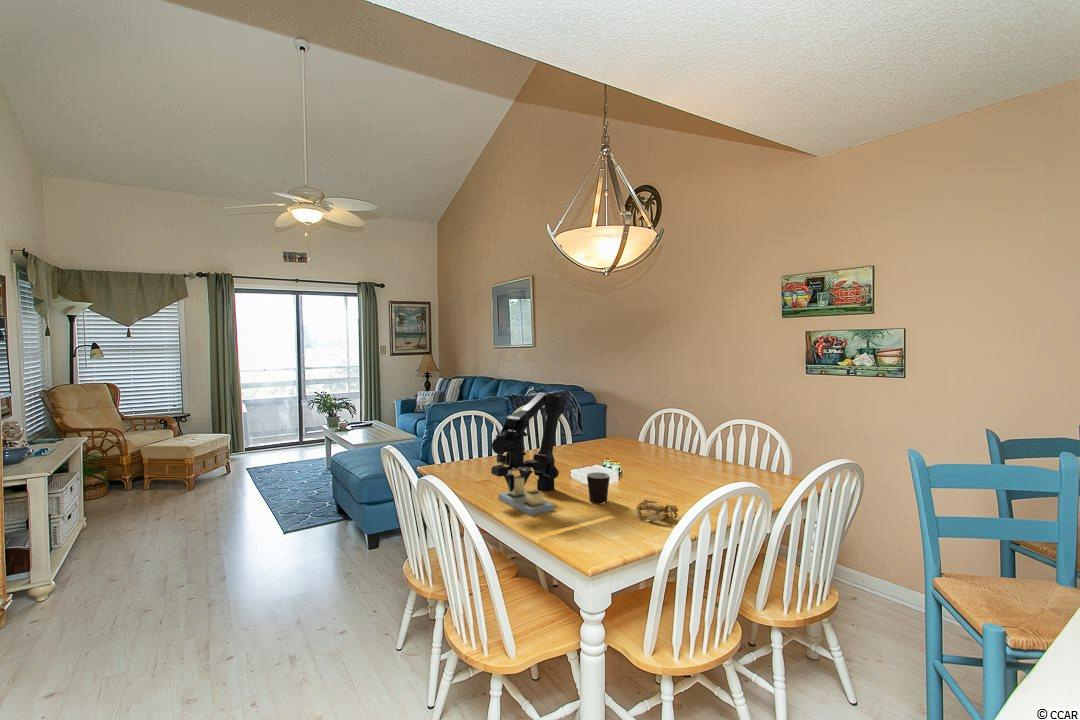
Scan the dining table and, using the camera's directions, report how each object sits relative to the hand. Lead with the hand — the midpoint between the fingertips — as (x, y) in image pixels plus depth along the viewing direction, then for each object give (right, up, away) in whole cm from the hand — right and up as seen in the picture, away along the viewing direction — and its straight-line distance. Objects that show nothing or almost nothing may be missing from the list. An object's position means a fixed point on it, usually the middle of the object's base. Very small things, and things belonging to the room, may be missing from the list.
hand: (516, 490), depth 190 cm
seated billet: (+7, -4, -10) cm, 13 cm away
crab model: (+49, -6, -16) cm, 51 cm away
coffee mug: (+30, -5, +1) cm, 31 cm away
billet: (0, -1, 0) cm, 1 cm away
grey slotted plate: (+3, -5, -5) cm, 8 cm away
